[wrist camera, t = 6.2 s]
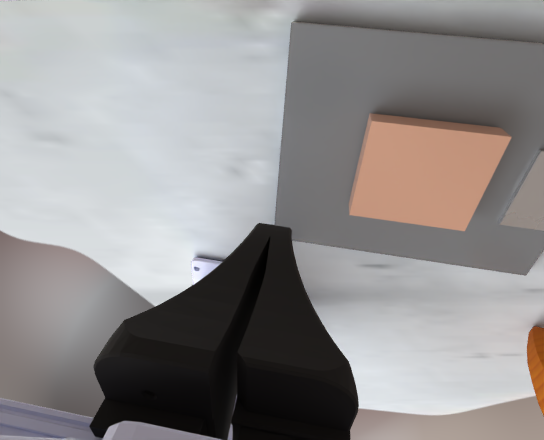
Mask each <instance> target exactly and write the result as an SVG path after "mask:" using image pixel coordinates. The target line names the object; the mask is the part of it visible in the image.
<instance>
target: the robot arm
mask: <svg viewBox="0 0 544 440" xmlns="http://www.w3.org/2000/svg"><path fill="white" fill-rule="evenodd" d="M197 267H199V268H197ZM191 268H192V278H193V285H192V286H191V287H189V288H188V289H186V290H185V291H183V292H181V293H180V294H178V295H176V296H175V297H173V298H171V299H169V300H167V301H165V302H164V303H162V304H160V305H158V306H156V307H154V308H152V309H149V310H147V311H145V312H142V313H140V314H138V315H136V316H133V317H131V318H129V319H126V320H124V321H123V323H122V324H121V325H120V326H119V328H118V329H117V330H116V331H115V333H114V334H113V335H112V337H111V338H110V339H109V341H108V342H107V344H106V345H105V347H104V348H103V350H102V351H101V353H100V354H99V356H98V357H97V359H96V361H95V364H94V371H95V375H96V377H97V380H98V382H99V384H100V386H101V389H102V391H103V393H104V395H105V400H104V401H103V403H102V405H101V407H100V408H99V410H98V412H97V413H96V415H95V417H94V418H92V417H87V416H82V415H78V414H73V413H69V412H64V411H59V410H54V409H49V408H45V407H41V406H36V405H31V404H27V403H22V402H17V401H12V400H8V399H3V398H0V440H350V429H351V426H352V424H353V422H354V419H355V417H356V415H357V412H358V406H359V404H358V395H357V390H356V385H355V381H354V377H353V374H352V370H351V367H350V364H349V361H348V360H347V359H346V357H345V356H344V355H343V353H342V352H341V351H340V349H339V348H338V347H337V345H336V344H335V343H334V341H333V340H332V338H331V337H330V335H329V334H328V332H327V331H326V329H325V327H324V326H323V324H322V322H321V320H320V319H319V317H318V315H317V313H316V312H315V310H314V308H313V306H312V304H311V302H310V300H309V297H308V295H307V293H306V291H305V288H304V286H303V283H302V280H301V277H300V274H299V271H298V268H297V264H296V260H295V256H294V252H293V246H292V230H291V228H290V227H283V226H276V225H269V224H263V223H259V224H257V225H256V226H255V227H254V229H253V230H252V231H251V233H250V234H249V235H248V236H247V237H246V239H245V240H244V241H243V242H242V243H241V244H240V245H239V246H238V247H237V248H236V249H235V250H234V251H233V252H232V253H231V254H230V255H229V256H228V257H227V258H226V259H225V260H224V261H223V262H222V261H216V260H209V259H203V258H193V259H192V261H191Z"/></svg>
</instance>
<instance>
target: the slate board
mask: <svg viewBox="0 0 544 440" xmlns="http://www.w3.org/2000/svg"><path fill="white" fill-rule="evenodd" d="M370 113H373V114H382V115H391V116H400V117H409V118H418V119H427V120H436V121H445V122H454V123H463V124H472V125H481V126H490V127H499V128H502V129H503V130H504V131H505V132H506V133H508V134H509V135H510V136H511V137H512V138H511V140H510V142H509V144H508V146H507V148H506V150H505V152H504V154H503V156H502V158H501V160H500V162H499V164H498V166H497V168H496V170H495V172H494V174H493V176H492V178H491V180H490V182H489V184H488V186H487V188H486V190H485V192H484V194H483V196H482V198H481V200H480V202H479V204H478V206H477V208H476V210H475V212H474V214H473V216H472V218H471V220H470V222H469V224H468V226H467V228H466V230H465V231H460V230H452V229H445V228H438V227H431V226H424V225H417V224H410V223H403V222H396V221H388V220H381V219H374V218H367V217H360V216H353V215H349V200H350V196H351V191H352V187H353V183H354V178H355V174H356V170H357V165H358V161H359V157H360V152H361V148H362V144H363V140H364V135H365V131H366V127H367V122H368V118H369V114H370ZM539 149H542V150H544V43H537V42H525V41H514V40H502V39H491V38H479V37H468V36H456V35H445V34H433V33H422V32H410V31H399V30H387V29H376V28H364V27H353V26H341V25H330V24H318V23H307V22H295V21H293V22H292V23H291V33H290V45H289V57H288V69H287V81H286V93H285V105H284V117H283V129H282V141H281V153H280V165H279V177H278V189H277V201H276V213H275V225H276V226H283V227H290V228H291V230H292V240H293V241H300V242H306V243H313V244H319V245H326V246H333V247H339V248H346V249H353V250H359V251H366V252H373V253H379V254H386V255H393V256H399V257H406V258H413V259H419V260H426V261H432V262H439V263H446V264H452V265H459V266H466V267H472V268H479V269H486V270H492V271H499V272H506V273H512V274H519V275H527V273H528V272H529V270H530V269H531V267H532V266H533V265H534V263H535V262H536V260H537V259H538V257H539V256H540V255H541V253H542V252H543V250H544V231H543V230H535V229H528V228H521V227H513V226H506V225H500V224H499V223H498V221H499V219H500V217H501V216H502V214H503V212H504V210H505V208H506V207H507V205H508V203H509V201H510V200H511V198H512V196H513V194H514V192H515V191H516V189H517V187H518V185H519V183H520V182H521V180H522V178H523V176H524V175H525V173H526V171H527V169H528V167H529V166H530V164H531V162H532V160H533V158H534V157H535V155H536V153H537V151H538V150H539Z"/></svg>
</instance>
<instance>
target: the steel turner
mask: <svg viewBox="0 0 544 440" xmlns="http://www.w3.org/2000/svg"><path fill="white" fill-rule="evenodd" d="M498 223H499V224H500V225H506V226H513V227H521V228H528V229H535V230H543V231H544V150H542V149H539V150H538V151H537V153H536V155H535V157H534V158H533V160H532V162H531V164H530V166H529V167H528V169H527V171H526V173H525V175H524V176H523V178H522V180H521V182H520V183H519V185H518V187H517V189H516V191H515V192H514V194H513V196H512V198H511V200H510V201H509V203H508V205H507V207H506V208H505V210H504V212H503V214H502V216H501V217H500V219H499V221H498Z"/></svg>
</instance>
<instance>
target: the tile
mask: <svg viewBox="0 0 544 440" xmlns="http://www.w3.org/2000/svg"><path fill="white" fill-rule="evenodd" d="M511 138H512V137H511V136H510V135H509V134H508V133H506V132H505V131H504V130H503V129H502V128H499V127H490V126H481V125H472V124H463V123H454V122H445V121H436V120H427V119H418V118H409V117H400V116H391V115H382V114H373V113H370V114H369V118H368V122H367V127H366V131H365V135H364V140H363V144H362V148H361V152H360V157H359V161H358V165H357V170H356V174H355V178H354V183H353V187H352V191H351V196H350V200H349V215H353V216H360V217H367V218H374V219H381V220H388V221H396V222H403V223H410V224H417V225H424V226H431V227H438V228H445V229H452V230H460V231H465V230H466V228H467V226H468V224H469V222H470V220H471V218H472V216H473V214H474V212H475V210H476V208H477V206H478V204H479V202H480V200H481V198H482V196H483V194H484V192H485V190H486V188H487V186H488V184H489V182H490V180H491V178H492V176H493V174H494V172H495V170H496V168H497V166H498V164H499V162H500V160H501V158H502V156H503V154H504V152H505V150H506V148H507V146H508V144H509V142H510V140H511Z"/></svg>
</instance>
